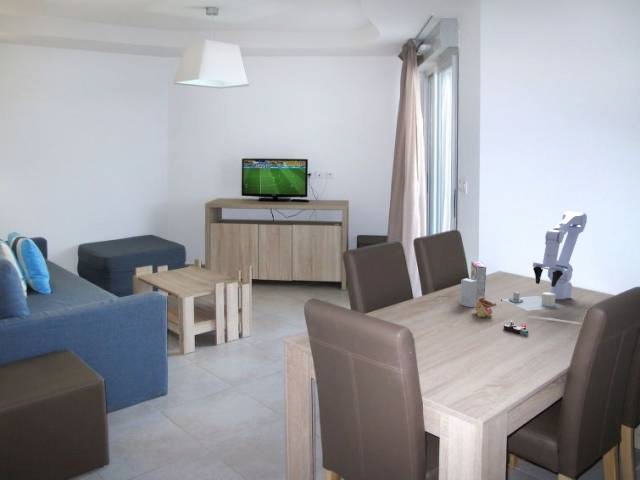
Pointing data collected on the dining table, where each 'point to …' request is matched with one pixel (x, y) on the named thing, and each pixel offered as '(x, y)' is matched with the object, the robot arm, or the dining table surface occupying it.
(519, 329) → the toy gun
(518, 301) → the grey disc
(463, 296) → the skincare box
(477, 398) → the dining table surface
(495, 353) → the dining table surface
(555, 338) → the dining table surface
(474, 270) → the candy bar box
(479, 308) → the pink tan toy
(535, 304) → the board
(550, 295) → the knob
